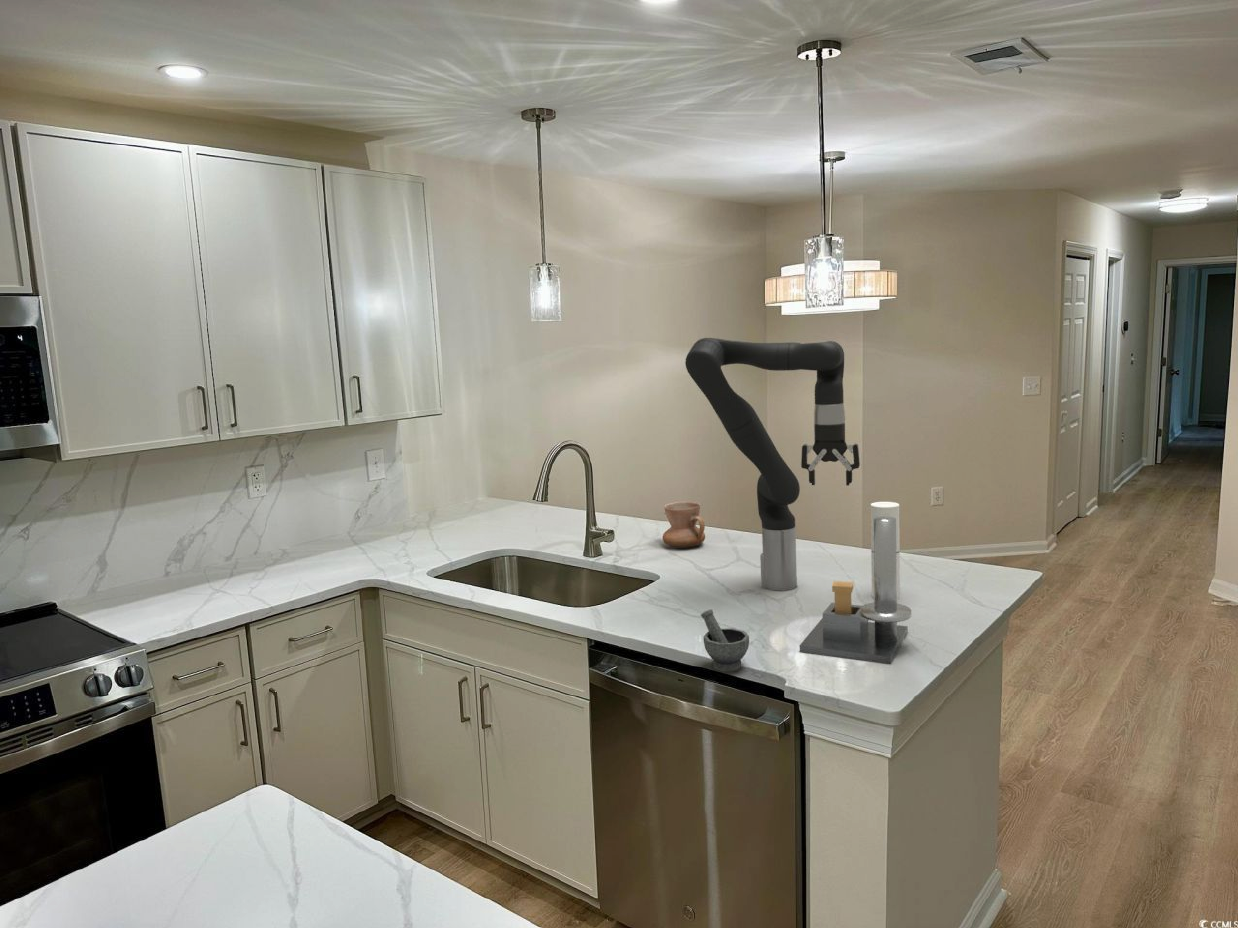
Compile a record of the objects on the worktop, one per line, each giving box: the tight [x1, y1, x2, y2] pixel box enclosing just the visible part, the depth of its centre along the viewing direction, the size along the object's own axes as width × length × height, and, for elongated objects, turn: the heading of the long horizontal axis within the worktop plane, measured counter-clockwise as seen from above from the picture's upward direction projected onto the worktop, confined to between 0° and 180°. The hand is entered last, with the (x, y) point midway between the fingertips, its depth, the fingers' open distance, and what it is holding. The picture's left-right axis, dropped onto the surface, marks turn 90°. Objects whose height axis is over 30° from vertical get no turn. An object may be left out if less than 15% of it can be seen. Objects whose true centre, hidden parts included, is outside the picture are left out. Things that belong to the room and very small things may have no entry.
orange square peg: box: [831, 580, 854, 614], centre depth 198 cm, size 4×4×12 cm
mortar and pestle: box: [700, 609, 750, 672], centre depth 188 cm, size 11×9×12 cm
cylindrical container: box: [870, 501, 901, 600], centre depth 226 cm, size 7×7×25 cm
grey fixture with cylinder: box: [799, 517, 912, 665], centre depth 194 cm, size 22×20×30 cm
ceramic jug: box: [662, 501, 706, 549], centre depth 290 cm, size 18×14×14 cm
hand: (830, 484), depth 217 cm, fingers open, 8 cm apart
